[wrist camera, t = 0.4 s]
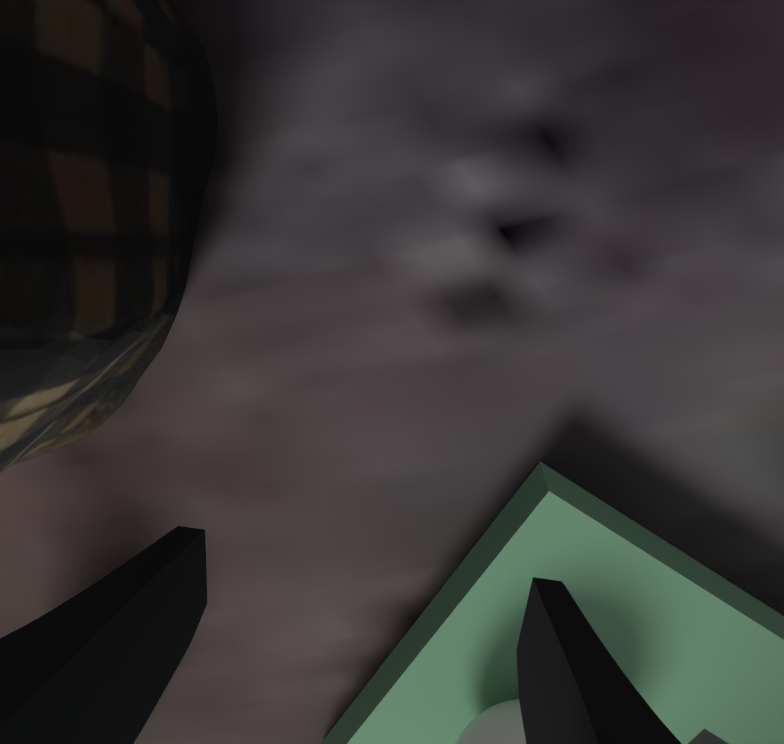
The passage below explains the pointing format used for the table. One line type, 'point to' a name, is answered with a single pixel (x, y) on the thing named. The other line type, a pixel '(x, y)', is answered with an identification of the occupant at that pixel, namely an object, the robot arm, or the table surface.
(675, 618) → the putting board
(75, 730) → the robot arm
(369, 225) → the table surface
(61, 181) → the decorative pumpkin
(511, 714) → the white ball
